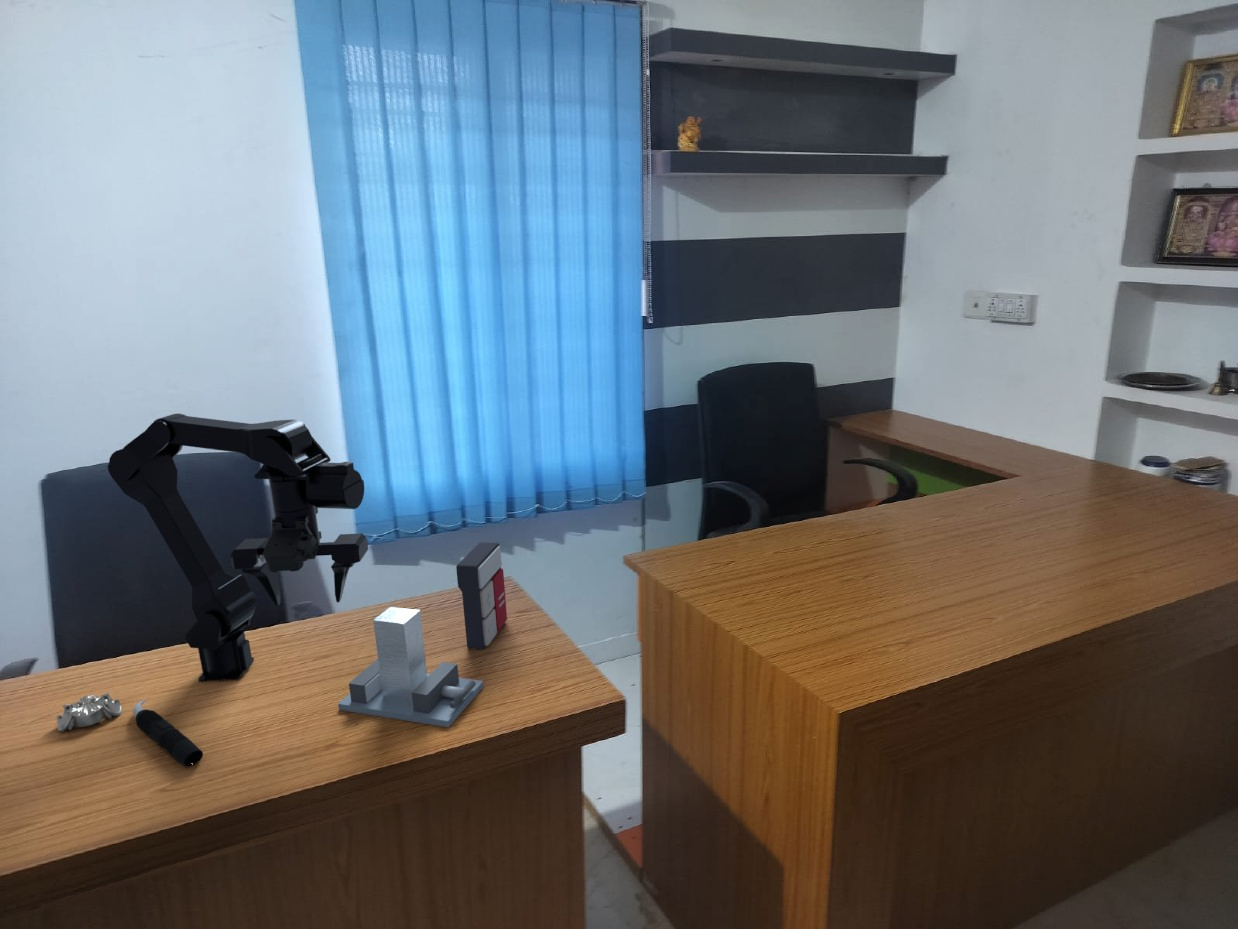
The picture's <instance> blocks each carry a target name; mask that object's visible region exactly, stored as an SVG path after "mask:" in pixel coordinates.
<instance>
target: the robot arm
mask: <svg viewBox="0 0 1238 929" xmlns="http://www.w3.org/2000/svg"><path fill="white" fill-rule="evenodd" d="M183 447H190V448H191V447H192V448H200V449H205V450H206V449H207V450H213V451H214V450H215V451H222V452H231V453H238V454H241V455H244V456H246V457H247V458H249V459H250V460H251V461H252V462H255V463H259V464H261V465H262V466H261V468H260V469H259V470H257V472H256V473H255V474H254V475H253V477H254V479H256V480H268V483H269V490H270V496H271V502H272V508H273V515H274V517H273V518H272V519H271V529H272V530H271V535H270V537H269V538H268V537H263V538H261V537H260V538H245V539H244V540H243V541H242V542H241V543H240V544H238V546H236V547H235V548H234V549H233V550H232V551H231V555H230V563H231V567H232V569H233V570H241V572H242V573H243V574H249V575H252V576H253V577H255V578H256V579H257V580H258V581H259V582H260V583H261V585H262V586H263V588H264V589H265V591H266V593H267V594H268V596H269V597H270V600H272V602H273V603H274V605H275V606H279V605H280V604H281V589H280V581H279V574H278V572H286V571H287V572H288V571H290V572H298V571H299V570H301V569H302V568H303V567H304V562H307V561H308V560H315V559H316V557H318V556H321V557H322V556H331V560H332V561H333V563H332V564H331V567H330V568H331V570H332V572H333V582H334V597H335V600H336V601H335V602H336V603H340V602H341V600H342V597H343V593H344V588H345V586H346V581H347V577H348V574H349V570H350V569H351V568H352V567H353V566H354V565H355V564H356V563H360V562H361V561H362V559H364V556H365V555H366V553H367V552H368V550H369V543H368V538H367V537H366V535H364V534H363V533H345V534H344V533H341V534H339V535H338V536H337V538H335V540H334V541H330V542H329V541H327V542H321V539H322V538H323V537H322V532H321V530H320V531H319V526H318V519H317V514H318V513H319V509H338V510H356V509H358V508H359V507H360V506H361V504H362V502H363V499H364V496H365V480H364V479H363V478H362V476H361V474H360V472H359V471H358V470H356V469H355V468H354V467H355V466H354V462H352V461H343V462H331V458H330V456H329V455H328V454H327V452H326V451H325V450H324V449H323V447H322V446H320V444H319V443H318V442H317V441H316V440H315V438H314V437H313V436H312V434H311V431H310V430H309V429H308V428H307V426H306V425H305V423H304V422H302V421H301V420H299V419H298V420H297V419H283V420H281V419H280V420H273V421H265V422H258V423H248V422H247V423H246V422H240V421H239V422H238V421H231V420H221V419H216V418H215V419H213V418H207V417H199V416H198V417H197V416H190V415H187V414H183V413H173V414H170V415H169V414H168V415H166V416H163V417H159V418H156V419H155V420H154V421H153V422H152V423H151V424H150V425H148V427H147V428H146V429H145V430H144V431H143V432H141V433H140V434H139V435H138V436H137V437H135V438H133V439H132V440H131V441H130V442H129V443H127V444H125V446H124V447H123V448H120V449H118V450H115V451H114V452H112V453H111V455H110V456H109V460H108V464H107V470H108V473H109V475H110V477H111V478H112V480H113V481H114V483H115V484H116V485H117V486H118V487H119V489H120V490H121V491H122V493H123V494H124V495H126V496H127V497H129V498H131V499H132V500H134V501H136V502H138V503H139V504H141V505H143V507H144V508H145V509H146V511H147V513H148V514H149V516H150V518H151V520H152V521H153V523H154V525H155V526H156V528H157V529H158V531H159V533H160V535H161V536H162V538H163V540H164V542H165V543H166V545H167V547H168V548H169V550H170V552H171V554H172V555H173V557H174V559H175V560H176V562H177V564H178V565H179V567H180V569H181V570H182V573H183V574H184V576H185V577H186V579H187V581H188V583H189V584H190V586H191V589H192V590H191V609H192V611H193V614H194V616H195V618H196V622H195V623H194V625H193V626H192V627H191V628H190V629H189V630H188V631H187V632H186V634H185V635H184V639H185V640H186V642H187V644H188V645H189V648H191V649H197V650H198V656H199V661H200V664H201V670H202V673H201V674H200V675H199V676H198V678H197V679H198V682H217V681H220V682H221V681H233V680H234V681H235V680H239V679H242V677H243V675H244V674H245V673H246V672H247V670H248V669H249V667H250V666H251V665H252V663H253V662H254V660H255V657H253V656H252V651H251V645H250V641H249V639H246V634H245V630H244V629H245V628H247V627H248V626H250V625H251V619H252V617H253V616H254V614H255V612H256V608H257V602H256V600H255V597H256V593H255V592H254V591H253V590H252V589H251V587H250V586H249V584H248V581H247V579H246V577H245V576H244V575H243V574H239V575H237V576H236V577H235V576H233V575H231V574H230V573H228V572H226V571H225V570H224V569H223V567H222V566H221V564H220V562H219V560H218V559H217V557H216V555H215V553H214V551H213V550H212V548H211V546H210V544H209V543H208V542H207V540H206V538H205V536H204V535H203V533H202V531H201V530H200V528H199V525H198V524H197V522H196V521H195V519H194V517H193V515H192V514H191V512H190V510H189V508H188V507H187V505H186V502H184V500H183V497H182V496H181V494H180V493H179V490H178V469H177V467H176V466H177V465H176V463H175V461H174V458H175V457H177V455H178V454H179V453H180V452H181V451H182V449H183ZM305 456H306V458H303V459H302V460H300V461H297V462H296V460H299V459H301V458H302V457H305Z"/></svg>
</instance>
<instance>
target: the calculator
mask: <svg viewBox="0 0 1238 929" xmlns="http://www.w3.org/2000/svg"><path fill="white" fill-rule="evenodd" d="M502 563H503V562H502V551H501V545H500V544H499V542H484V541H483V542H482V541H481V542H479V543H477V544H476V545H475V546H474V547H473V548H472V550H470V551H469V552H468V553H467V554H466V556H464V558H463V559H461V560H460V561H459V563H457V565H456V566H455V567H456V568H455V570H456V578H457V580H456V581H457V587H458V588H459V590H460V591H461V593H462V594H461V596H462V606H463V607H462V608H463V618H464V619H463V620H464V627H465V628H464V629H465V637H466V639H465V640H466V647H467V649H471V650H473V649H474V650H485V649H486V647H489V645H490V644H491V642H492V641H493V640H494V639H495V637H496V636H497V633H498V632H499V631H500V630H501V629H502V628H503V626H504V624H505V623H506V622H507V619H508V614H507V600H506V590H505V575H504V574H505V573H504V568H502V565H503V564H502Z"/></svg>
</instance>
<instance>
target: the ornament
mask: <svg viewBox="0 0 1238 929" xmlns="http://www.w3.org/2000/svg"><path fill="white" fill-rule="evenodd" d="M62 708H63V712H62V715H61V714H57V716H56V720H57V721H56V723H57V730H58V732H61V733H63V732H65V731H66V730H68V731H72V730H73V729H74V728H75V727H76V728H85V727H88V726H93V725H94V724H95V725H96V724H97V723H100V722H102V721H103V720H104V719H105V718H106V719H113V718H114V717H118V716H120V715H121V714H122V712H123V710H122V709H123V708H122V706H121V702H120V699H119V698H115V700H114V699H113V698H112V697H111V695H110V694H109V692H106V693H105V694H102V695H99V696H95V695H93V694H92V695H91V694H89V695H84V696H83V697H80V699H79V701H76V702H73V703H69V704H63V705H62Z"/></svg>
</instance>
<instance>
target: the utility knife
mask: <svg viewBox="0 0 1238 929" xmlns="http://www.w3.org/2000/svg"><path fill="white" fill-rule="evenodd" d="M148 700H149V698H146V699H143V700H141V701H139V702H137V703H136V704H135V705H134V706H133V710H132V711H133V712H132V713H133V715H134V718H135V720H134V721H135V723H136V726H137V727H138V728H139V729H140V730H141V731H142V732H143V733H144V734H145V735H146V736H148V738H149V739H151V740H152V741H153V742H155V743H156V744H157V745H158V746H159V747H160V749H163V750H164V751H165V752H167V754H168V755H170V756H171V757H172V758H173V759H175V760H176V761H177V762H179V763H180V764H181V765H183V766H184V767H188V768H190V767H193V766H195V765H196V764H198V763H199V762H200V761H201V760H202V758H203V757H204V751H202V750H201V749H200V748H199V747H198V746H197V745H196V744H195V743H194V742H193V741H192V740H191V739H190V738H188V737H187V736H186V735H184V734H183V733H182V732H181V730H179V729H178V728H176V727H175V726H174V725H172V723H170V722H169V720H166V719H164V717H162V716H161V715H159V713H157V712H156V711H155V710H152V709H146V708H145V709H144V708H142V706H143V704H144V703H145V702H146V701H148ZM191 763H193V765H192V764H191Z"/></svg>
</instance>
